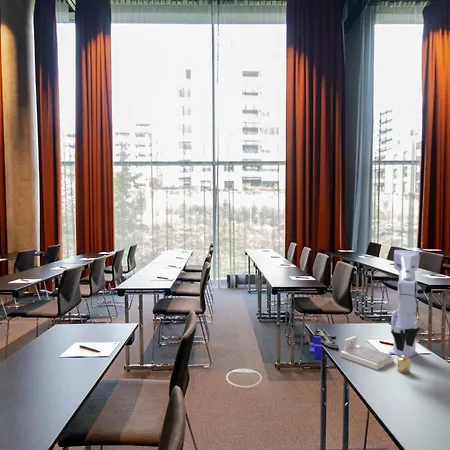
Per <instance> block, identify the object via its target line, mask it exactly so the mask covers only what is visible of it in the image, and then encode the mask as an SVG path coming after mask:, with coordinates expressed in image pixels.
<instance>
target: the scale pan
mask: <svg viewBox="0 0 450 450" xmlns="http://www.w3.org/2000/svg"><path fill="white" fill-rule="evenodd" d="M359 346H360V347H358V348H355V349H352V350H350V351H349V353H351V354H354V355H357V356H359V357H362V358H365V359H368V360H371V361H374V362H377V363H381V362H383V361H385V360H387V359H389V358H391V357H392V354H389V353H385V352H382V351H380V350H376V349H374V348H371V347H367V346H365V345H359Z"/></svg>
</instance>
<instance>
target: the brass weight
mask: <svg viewBox="0 0 450 450" xmlns="http://www.w3.org/2000/svg"><path fill="white" fill-rule="evenodd" d="M411 366H412V359H411V358H410V357H409V358H408V357H407V356H406V355H402V356H398V357H397V368H396V369H397V370H396V371H397V372H398V374H399V373H400V374H403V375H410V374H411Z"/></svg>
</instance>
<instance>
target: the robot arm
mask: <svg viewBox="0 0 450 450" xmlns="http://www.w3.org/2000/svg"><path fill="white" fill-rule="evenodd" d="M420 254H421V253H420V251H419V250H406V249H405V250H403V249H395V250H394V253H393V266H394V270H396V271H398V281H397V295H398V296H397V298H398V299H397V300H398V303H397V304H398V306H397V309H396V310H394V311H393V312H392V313H391V322H390V329H391V330H390V331H391V334H392V337H393V349H391V350H389V353H390V354H393V355H396V356H398V357H400V356H402V355H406V356H407V357H408V358H410V357H412V356H415V355H417V354H418V353H419V352H418V351H416V344H417V335H418V333H419V331H420V330H421V329H420V328H419V327H418V320H417V318H418V316H417V315H416V300H417V299H416V298H417V297H418V296H417V295H418V286H419V285H418V281H417V280H416V272H417V271H418V269H419V264H420V258H421V257H420Z"/></svg>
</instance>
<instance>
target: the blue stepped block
mask: <svg viewBox="0 0 450 450" xmlns="http://www.w3.org/2000/svg"><path fill="white" fill-rule="evenodd" d="M321 341H322V338H321V337H320V336H314V335H313V342H309V354H310V355H313V359H314V361H322V360H323V345H321Z"/></svg>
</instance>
